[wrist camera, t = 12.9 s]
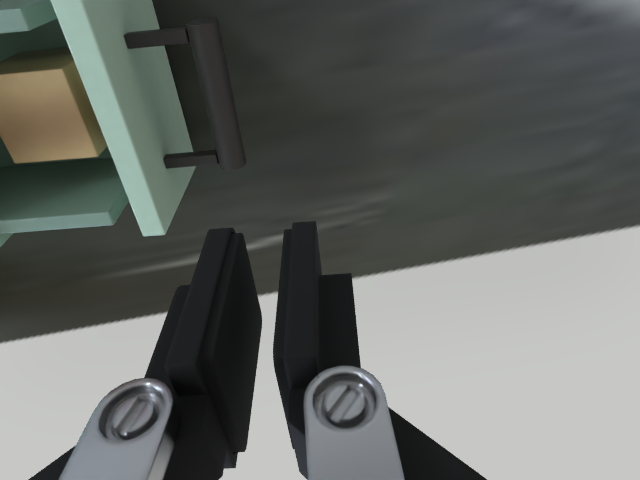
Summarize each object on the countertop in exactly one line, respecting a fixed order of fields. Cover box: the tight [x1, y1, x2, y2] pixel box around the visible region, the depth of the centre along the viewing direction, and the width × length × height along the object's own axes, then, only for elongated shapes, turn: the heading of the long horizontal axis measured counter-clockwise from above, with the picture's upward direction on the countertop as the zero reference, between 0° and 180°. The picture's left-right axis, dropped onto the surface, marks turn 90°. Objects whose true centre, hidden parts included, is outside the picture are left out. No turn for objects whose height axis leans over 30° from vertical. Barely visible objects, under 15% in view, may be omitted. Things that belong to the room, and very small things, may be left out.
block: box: [0, 47, 107, 164], centre depth 24 cm, size 4×4×4 cm
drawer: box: [0, 0, 246, 236], centre depth 23 cm, size 18×11×8 cm, turn 95°
